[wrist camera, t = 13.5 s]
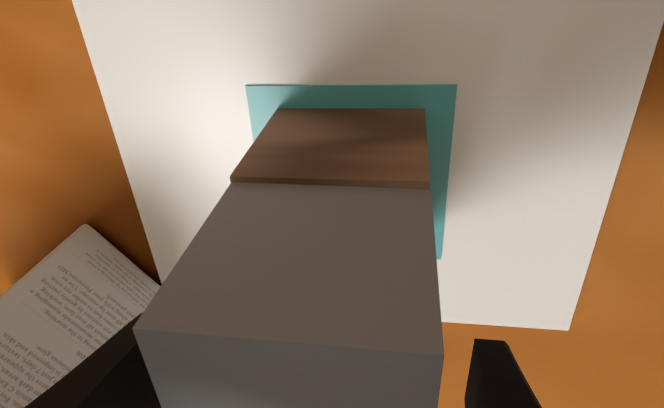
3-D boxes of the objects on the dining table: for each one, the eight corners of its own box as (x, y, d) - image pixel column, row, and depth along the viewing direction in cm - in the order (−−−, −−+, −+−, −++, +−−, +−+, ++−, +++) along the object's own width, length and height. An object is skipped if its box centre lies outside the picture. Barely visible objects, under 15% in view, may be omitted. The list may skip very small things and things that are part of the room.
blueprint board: (679, -50, 12) (687, -49, 12) (566, 325, 20) (569, 332, 19) (70, -24, 15) (62, -22, 15) (170, 298, 22) (166, 303, 22)
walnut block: (424, 108, 15) (430, 181, 11) (417, 233, 18) (420, 330, 14) (277, 108, 16) (229, 176, 12) (291, 227, 18) (256, 319, 14)
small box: (96, 356, 25) (-81, 589, 17) (9, 291, 24) (-239, 511, 15) (183, 300, 22) (15, 561, 13) (87, 217, 20) (-181, 453, 11)
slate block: (431, 189, 11) (444, 356, 7) (418, 335, 14) (422, 521, 9) (231, 182, 12) (132, 328, 8) (256, 322, 14) (191, 490, 10)
